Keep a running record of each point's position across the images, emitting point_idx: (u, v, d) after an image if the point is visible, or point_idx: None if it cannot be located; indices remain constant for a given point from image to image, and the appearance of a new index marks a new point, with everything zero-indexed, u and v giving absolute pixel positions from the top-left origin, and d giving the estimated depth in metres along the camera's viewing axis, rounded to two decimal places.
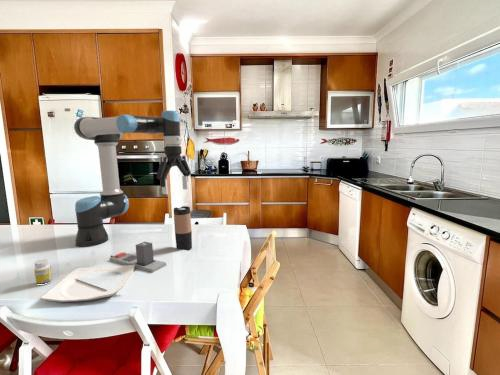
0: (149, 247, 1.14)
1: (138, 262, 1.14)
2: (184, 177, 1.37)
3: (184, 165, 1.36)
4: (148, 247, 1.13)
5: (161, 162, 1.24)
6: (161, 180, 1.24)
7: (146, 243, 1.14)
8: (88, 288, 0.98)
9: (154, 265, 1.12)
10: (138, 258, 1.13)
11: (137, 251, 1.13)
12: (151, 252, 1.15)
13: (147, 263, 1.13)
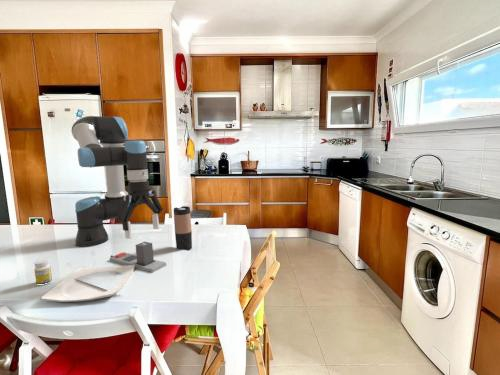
0: (149, 247, 1.14)
1: (138, 262, 1.14)
2: (154, 215, 1.18)
3: (154, 201, 1.17)
4: (148, 247, 1.13)
5: (123, 201, 1.05)
6: (123, 223, 1.05)
7: (146, 243, 1.14)
8: (88, 288, 0.98)
9: (154, 265, 1.12)
10: (138, 258, 1.13)
11: (137, 251, 1.13)
12: (151, 252, 1.15)
13: (147, 263, 1.13)
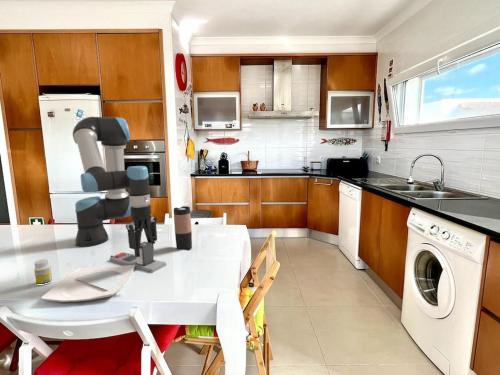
0: (149, 247, 1.14)
1: None
2: None
3: (152, 228, 1.17)
4: (148, 247, 1.13)
5: (128, 231, 1.08)
6: (135, 250, 1.10)
7: (146, 243, 1.14)
8: (88, 288, 0.98)
9: (154, 265, 1.12)
10: None
11: None
12: (151, 252, 1.15)
13: (147, 263, 1.13)
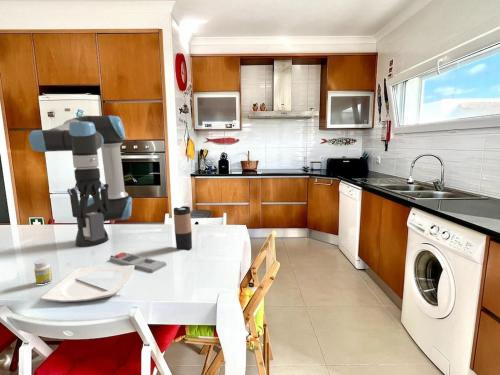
0: (98, 217, 0.98)
1: None
2: None
3: (103, 197, 1.02)
4: (97, 217, 0.98)
5: (71, 196, 0.93)
6: (80, 219, 0.95)
7: (95, 213, 0.99)
8: (88, 288, 0.98)
9: (154, 265, 1.12)
10: None
11: None
12: (101, 223, 0.99)
13: (96, 235, 0.98)
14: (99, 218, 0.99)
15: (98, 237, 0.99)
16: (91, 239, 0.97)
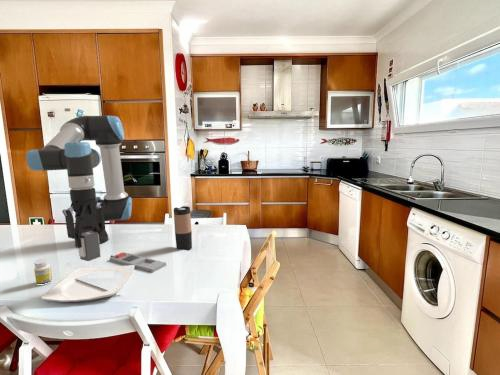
0: (94, 237, 0.98)
1: None
2: None
3: (99, 216, 1.02)
4: (92, 237, 0.98)
5: (66, 217, 0.92)
6: (75, 239, 0.95)
7: (91, 232, 0.99)
8: (88, 288, 0.98)
9: (154, 265, 1.12)
10: None
11: None
12: (96, 243, 0.99)
13: (91, 255, 0.97)
14: (94, 238, 0.98)
15: (93, 257, 0.98)
16: (86, 259, 0.97)
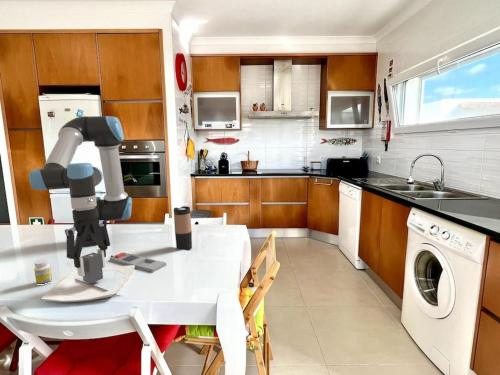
0: (97, 259, 0.99)
1: (84, 276, 0.99)
2: (99, 252, 1.03)
3: (102, 233, 1.03)
4: (96, 259, 0.99)
5: (67, 237, 0.93)
6: (74, 259, 0.95)
7: (94, 254, 1.00)
8: (88, 289, 0.98)
9: (154, 265, 1.12)
10: (84, 272, 0.99)
11: (83, 264, 0.99)
12: (99, 265, 1.00)
13: (94, 277, 0.99)
14: (98, 260, 1.00)
15: (96, 279, 1.00)
16: (89, 281, 0.98)
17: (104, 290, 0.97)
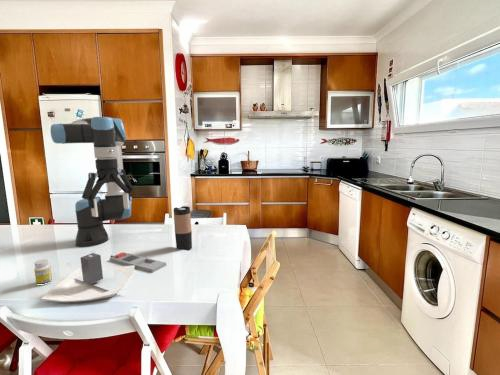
0: (96, 260, 0.99)
1: (84, 277, 0.99)
2: (124, 194, 1.16)
3: (124, 180, 1.15)
4: (95, 260, 0.99)
5: (89, 179, 1.03)
6: (89, 200, 1.03)
7: (93, 255, 1.00)
8: (88, 289, 0.98)
9: (154, 265, 1.12)
10: (84, 272, 0.99)
11: (82, 264, 0.99)
12: (99, 265, 1.00)
13: (94, 278, 0.99)
14: (97, 261, 1.00)
15: (96, 279, 1.00)
16: (89, 282, 0.98)
17: (104, 290, 0.97)
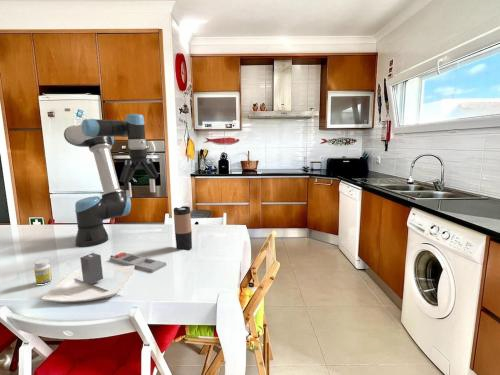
0: (96, 260, 0.99)
1: (84, 277, 0.99)
2: (151, 180, 1.37)
3: (151, 168, 1.37)
4: (95, 259, 0.99)
5: (125, 165, 1.24)
6: (125, 183, 1.24)
7: (93, 255, 1.00)
8: (88, 289, 0.98)
9: (154, 265, 1.12)
10: (84, 272, 0.99)
11: (82, 264, 0.99)
12: (99, 265, 1.00)
13: (94, 278, 0.99)
14: (97, 261, 1.00)
15: (96, 279, 1.00)
16: (89, 282, 0.98)
17: (104, 290, 0.97)
